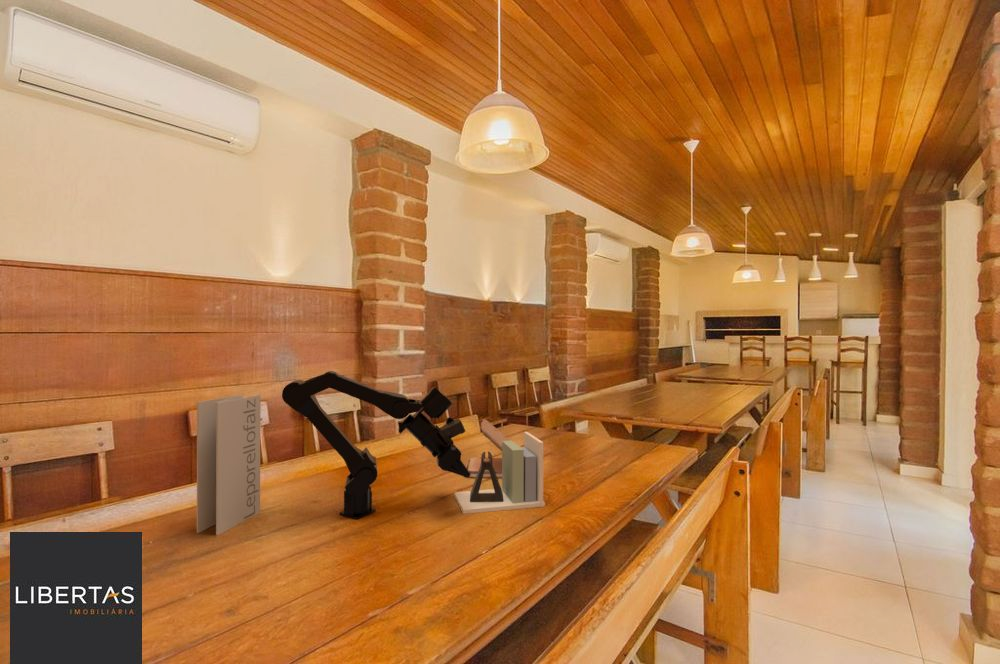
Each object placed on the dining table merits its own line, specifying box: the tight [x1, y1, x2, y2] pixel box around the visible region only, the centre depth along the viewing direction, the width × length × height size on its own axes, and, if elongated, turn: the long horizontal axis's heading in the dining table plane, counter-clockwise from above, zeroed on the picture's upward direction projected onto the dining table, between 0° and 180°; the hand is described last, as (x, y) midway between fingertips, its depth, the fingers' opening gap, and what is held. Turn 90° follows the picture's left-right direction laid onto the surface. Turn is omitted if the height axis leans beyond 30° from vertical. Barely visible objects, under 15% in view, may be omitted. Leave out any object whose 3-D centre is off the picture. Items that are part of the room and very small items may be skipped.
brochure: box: [196, 393, 261, 536], centre depth 117 cm, size 14×6×30 cm, turn 168°
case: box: [465, 418, 511, 479], centre depth 163 cm, size 20×21×16 cm
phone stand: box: [470, 451, 504, 502], centre depth 132 cm, size 9×6×12 cm, turn 92°
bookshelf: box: [453, 431, 546, 515], centre depth 133 cm, size 22×14×17 cm, turn 105°
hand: (466, 471), depth 131 cm, fingers open, 9 cm apart
